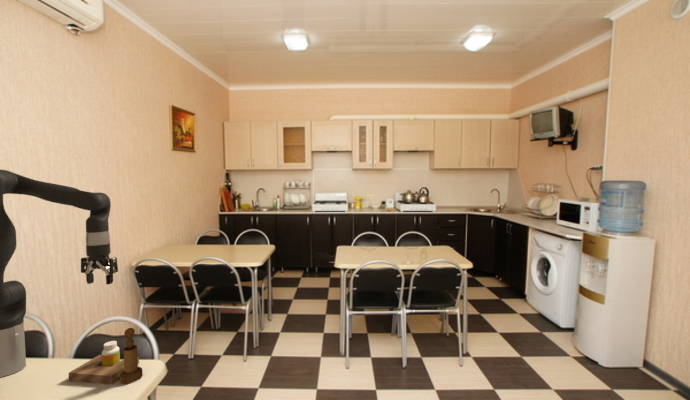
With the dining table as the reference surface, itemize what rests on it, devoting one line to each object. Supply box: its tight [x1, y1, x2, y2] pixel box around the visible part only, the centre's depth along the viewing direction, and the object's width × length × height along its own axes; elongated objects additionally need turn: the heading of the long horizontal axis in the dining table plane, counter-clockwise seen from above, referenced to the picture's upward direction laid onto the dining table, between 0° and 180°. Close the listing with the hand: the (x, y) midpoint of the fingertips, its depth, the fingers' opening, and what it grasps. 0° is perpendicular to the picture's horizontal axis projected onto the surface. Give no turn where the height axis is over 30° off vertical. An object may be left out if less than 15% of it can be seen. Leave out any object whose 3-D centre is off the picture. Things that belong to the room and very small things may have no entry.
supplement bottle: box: [101, 340, 121, 367], centre depth 118 cm, size 5×5×10 cm
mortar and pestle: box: [119, 327, 144, 385], centre depth 111 cm, size 7×6×18 cm
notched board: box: [68, 354, 140, 385], centre depth 115 cm, size 17×12×3 cm
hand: (100, 283), depth 124 cm, fingers open, 8 cm apart
